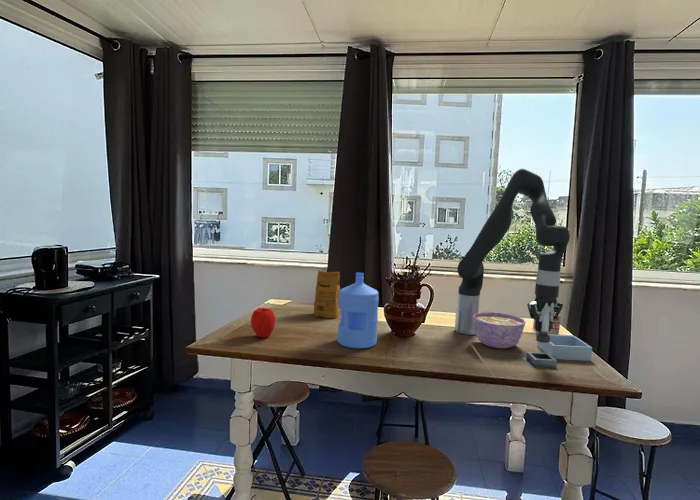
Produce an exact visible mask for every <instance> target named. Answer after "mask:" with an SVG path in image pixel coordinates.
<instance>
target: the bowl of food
mask: <svg viewBox="0 0 700 500" xmlns="http://www.w3.org/2000/svg"><path fill="white" fill-rule="evenodd" d="M473 320H474V326H475V332H476V334H475V335H476V338H477V340H478V341H479V342H480V343H482V344H483V345H484V346H487V347H491V348H495V349H510V348H513V347H515V346H517V344H518V343H519V342H520V339H521V337H522V335H523V331H524V329H525V326H526V322H527V321H526V320H525V319H524V318H522V317H519V316H516V315H513V314H509V313H502V312H496V311H495V312H494V311H492V312H491V311H487V312H486V311H484V312H479V313H476V314H474V315H473Z"/></svg>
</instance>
